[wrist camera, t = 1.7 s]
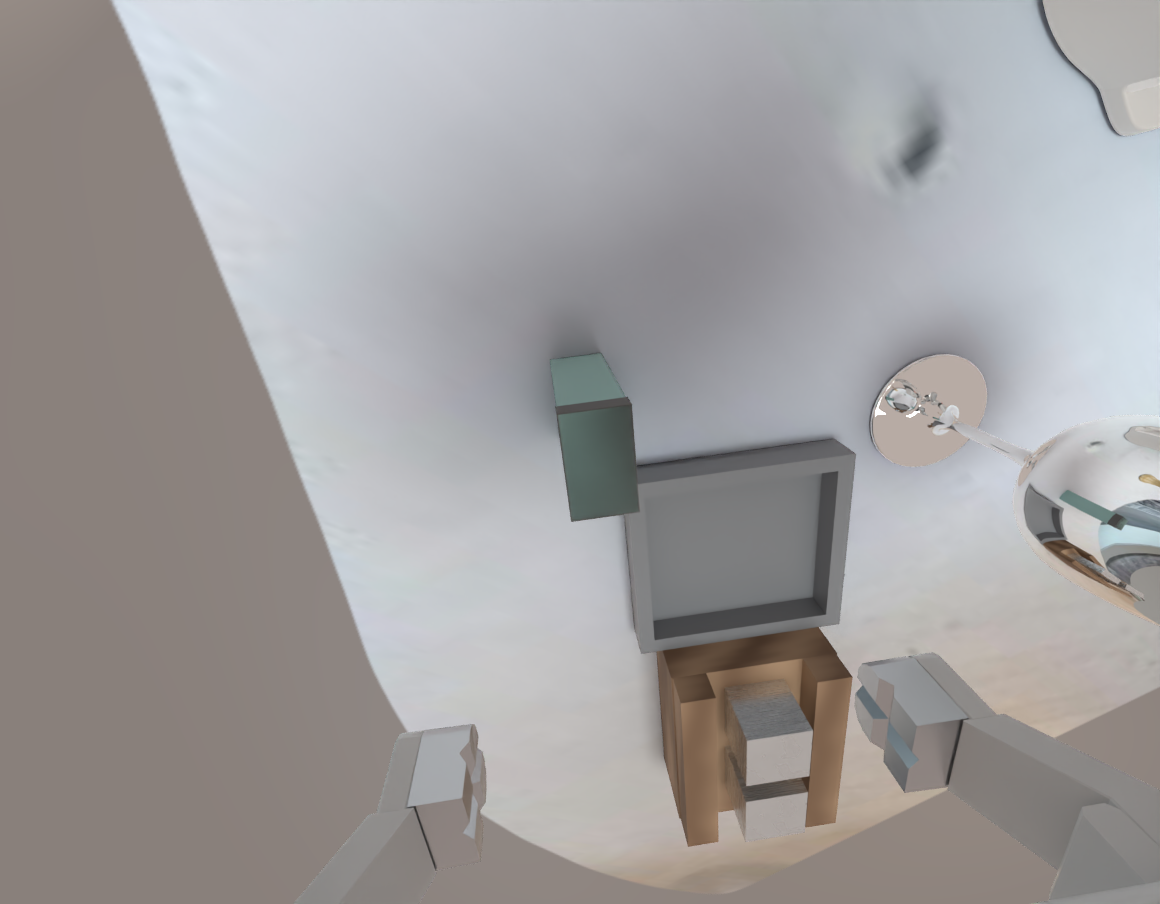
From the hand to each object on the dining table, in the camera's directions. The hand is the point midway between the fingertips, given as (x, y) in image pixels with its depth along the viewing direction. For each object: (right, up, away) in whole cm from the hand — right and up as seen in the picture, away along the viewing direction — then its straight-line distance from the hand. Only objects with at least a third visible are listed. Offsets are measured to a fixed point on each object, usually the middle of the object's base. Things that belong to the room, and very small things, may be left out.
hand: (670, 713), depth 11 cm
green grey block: (-2, +9, +21) cm, 23 cm away
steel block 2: (+10, -17, +27) cm, 34 cm away
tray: (+8, -1, +26) cm, 27 cm away
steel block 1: (+10, -12, +25) cm, 29 cm away
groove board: (+10, -13, +31) cm, 35 cm away
